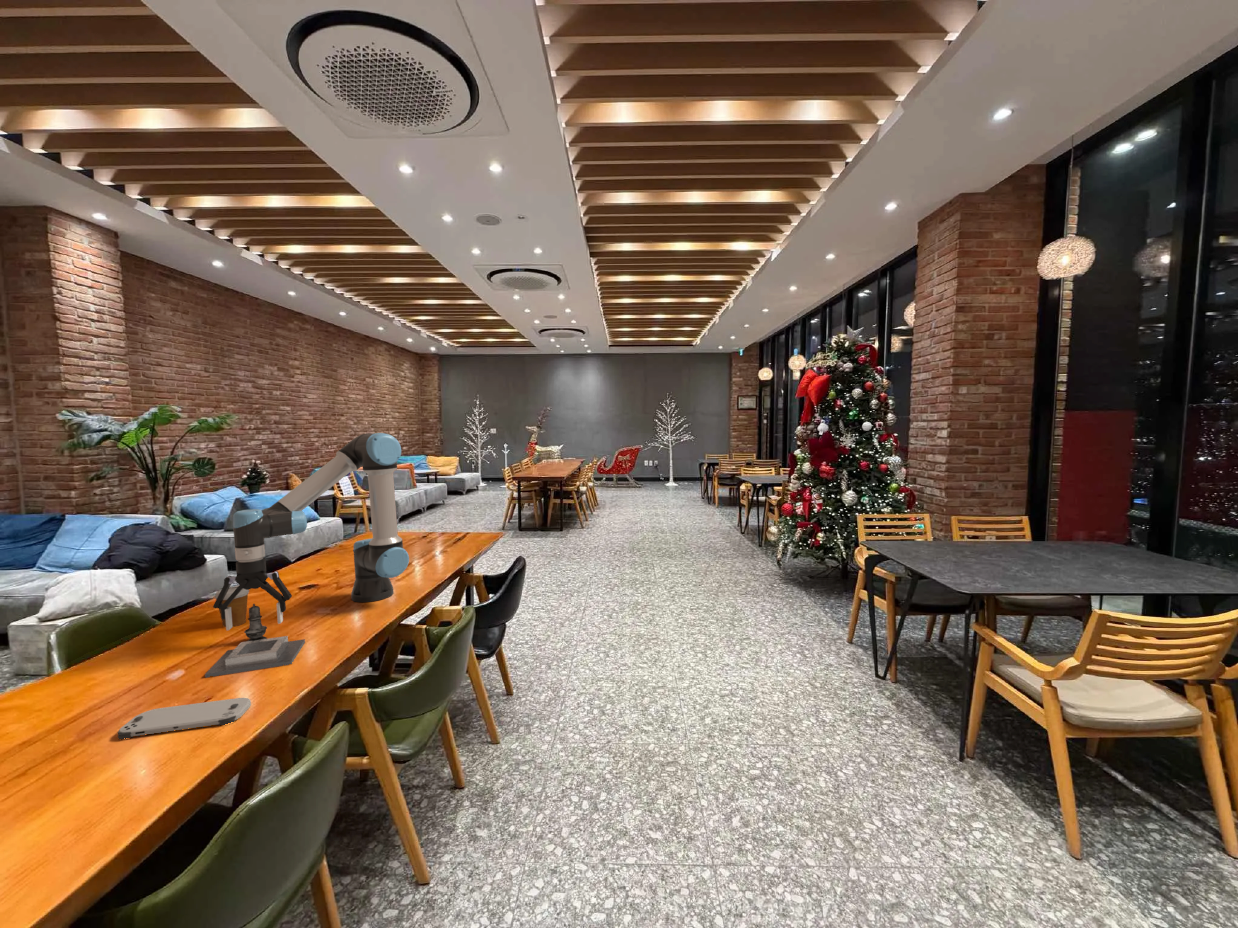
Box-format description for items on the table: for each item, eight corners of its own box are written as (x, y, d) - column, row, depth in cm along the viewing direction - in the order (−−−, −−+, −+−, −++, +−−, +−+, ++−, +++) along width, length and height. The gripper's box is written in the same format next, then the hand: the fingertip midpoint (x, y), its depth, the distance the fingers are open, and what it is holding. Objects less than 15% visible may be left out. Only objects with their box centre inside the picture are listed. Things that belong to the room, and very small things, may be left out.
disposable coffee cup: (258, 618, 179) (255, 585, 178) (235, 629, 169) (232, 594, 168) (233, 618, 180) (231, 585, 179) (209, 628, 170) (206, 594, 169)
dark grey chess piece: (272, 637, 162) (269, 601, 161) (253, 645, 156) (251, 607, 155) (259, 635, 164) (256, 599, 163) (240, 643, 158) (237, 605, 157)
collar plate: (305, 642, 157) (304, 631, 157) (291, 664, 142) (290, 652, 142) (227, 653, 151) (227, 641, 150) (205, 677, 136) (204, 665, 135)
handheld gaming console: (255, 691, 123) (235, 714, 113) (256, 702, 123) (236, 725, 114) (142, 706, 117) (110, 730, 108) (143, 717, 118) (112, 743, 108)
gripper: (196, 566, 150) (202, 635, 152) (293, 557, 159) (297, 623, 160) (207, 560, 157) (212, 627, 159) (299, 552, 166) (303, 615, 167)
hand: (255, 625), depth 159 cm, fingers open, 13 cm apart
